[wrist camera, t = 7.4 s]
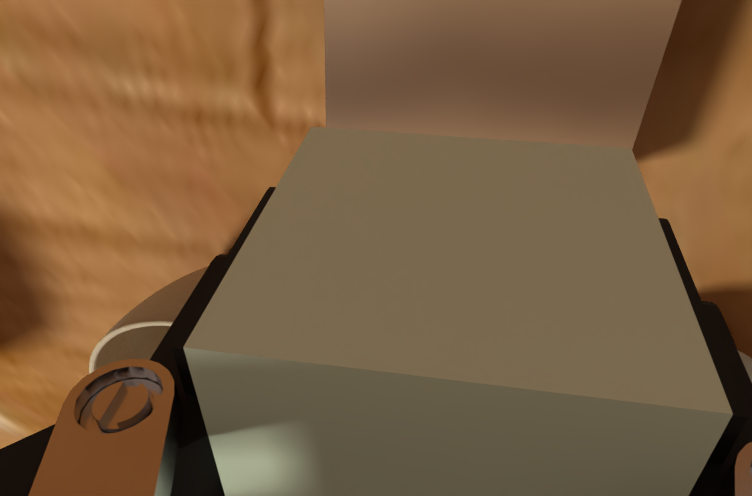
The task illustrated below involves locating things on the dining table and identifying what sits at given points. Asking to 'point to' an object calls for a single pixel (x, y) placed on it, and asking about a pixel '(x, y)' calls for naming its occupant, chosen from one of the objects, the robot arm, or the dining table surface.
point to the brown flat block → (495, 67)
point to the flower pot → (144, 324)
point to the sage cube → (455, 328)
